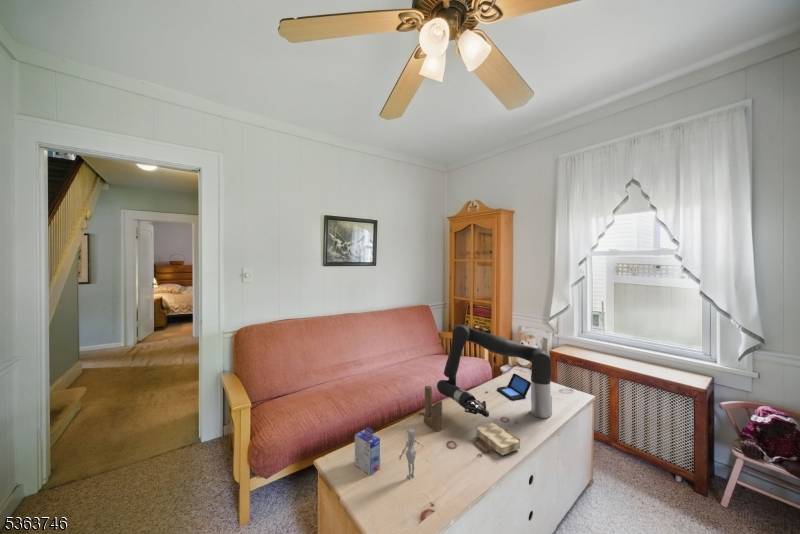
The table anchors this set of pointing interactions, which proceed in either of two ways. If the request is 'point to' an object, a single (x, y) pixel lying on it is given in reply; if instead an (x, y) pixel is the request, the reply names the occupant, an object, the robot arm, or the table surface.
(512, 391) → the handheld game console
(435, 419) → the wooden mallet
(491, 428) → the oak plank
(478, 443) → the floor panel
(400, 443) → the table surface
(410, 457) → the human figurine
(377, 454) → the ink cartridge box
